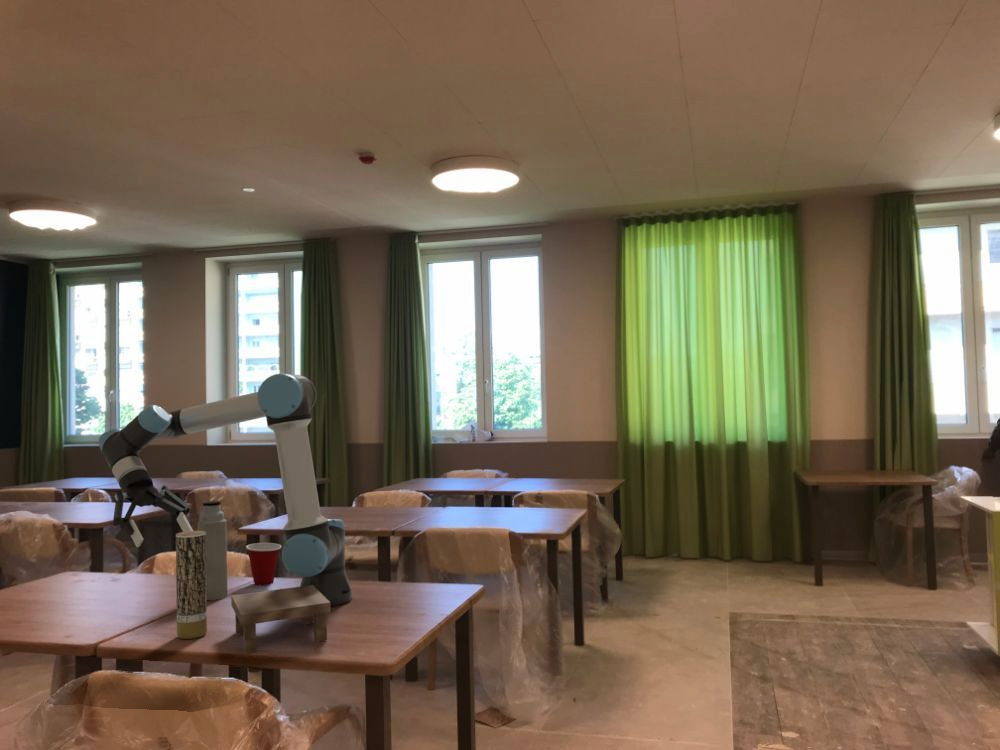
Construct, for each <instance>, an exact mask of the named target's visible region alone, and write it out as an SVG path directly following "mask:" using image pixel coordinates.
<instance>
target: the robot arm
mask: <svg viewBox="0 0 1000 750" xmlns="http://www.w3.org/2000/svg"><path fill="white" fill-rule="evenodd" d="M316 401H317V390H316V387H315V385H314V383H313V382H312V381H311V380H310V379H308V378H307V377H305V376H304V375H299V374H293V373H292V374H291V373H288V372H280V373H275V374H273V375H270V376H268V377H267V378H265V380H264V381H263V382H262V383H261V384H260V386H259V388H258V391H255V392H250V393H246V394H242V395H237V396H233V397H229V398H225V399H221V400H217V401H211V402H208V403H203V404H199V405H194V406H189V407H185V408H182V409H181V408H180V409H176V410H171V411H166V410H165V409H164V408H162V407H161V406H159V405H156V404H150V405H148V406H147V407H146V408H144V409H143V410H142V411H139V413H138V415H136V416H135V417H134V418H133V419H132V420H131V421H130V422H129V423H127V424H126V426H124V427H123V428H120V427H119V428H118V427H114V428H111V429H109V430H108V431H105V432H103V433H102V434H101V435H100V437H99V438H98V441H97V443H98V446H99V448H100V451H101V454H102V455H101V456H103V458H104V459H105V461H106V462H107V464H108V466H109V468H110V470H111V472H112V474H113V476H114V478H115V480H116V482H117V484H118V486H119V488H120V490H119V489H118V490H117V491H116V493H115V494H114V496H113V500H114V504H115V505H114V510H113V511H114V512H113V519H112V525H113V526H114V527H115V526H116V527H117V526H119V528H120V529H122V530H124V531H125V533H126V535H127V536H130V537H131V539H132V541H133V542H134V545H135V547H136V548H139V547H141V545H142V543H143V542H144V537H143V535H142V533H141V532H140V530H139V527H138V526H137V524H136V522H135V521H134V519H131V517H132V515H133V513H134V511H135V509H136V507H140V508H142V507H149V506H153V507H155V508H160V509H161V510H164V511H166V512H168V513H170V514H171V515H173V516H175V517H176V522H177V523H178V525H179V527H180V529H181V530H182V531H181V532H186V531H194V530H193V527H192V526H191V519H190V518H189V516H188V514H189V512H190V511H191V509H192V508H191V506H190V505H188V504H187V503H186V502H185V501H183V499H181V498H180V497H178V496H177V495H176V494H175V493H173V492H172V491H171V490H170V489H169V487H168V486H167V485H162V487H160V488H156V487H155V486H154V482H153V480H152V477H151V475H150V473H149V472H148V471H147V470H148V469H147V468H146V466H145V465H144V462H143V461H142V459H141V458H140V455H139V453H140V452H141V451H142V450H144V449H145V448H146V447H147V446H148V445H149V444H150V443H152V441H158V440H165V439H167V440H168V439H169V440H171V439H172V440H173V439H178V438H180V437H183V436H186V435H190V434H191V435H192V434H197V433H199V432H204V431H207V430H213V429H218V428H222V427H227V426H230V425H235V424H240V423H243V422H248V421H252V420H257V419H261V418H265V419H266V425H267V426H266V427H267V428H268V429H270V430H271V431H272V432H273V433H274V437H275V444H276V445H275V446H276V450H277V457H278V458H277V459H278V464H279V471H280V477H281V478H280V479H281V484H282V489H283V494H284V495H283V496H284V502H285V508H286V509H285V510H286V515H287V516H286V517H287V522H286V524H285V525H284V527H283V535H284V541H285V542H284V544H283V547H282V551H281V559H282V562H283V565H284V567H285V568H286V570H287V572H289V573H291V574H292V575H294V576H296V577H300V578H302V579H301V582H300V586H299V587H301V586H309V585H313V586H314V587H315V588H316V589H317V590H318V591H319V592H320V593H321V594H322V595H323V596H324V597H325V598H326V599H327V600H328V601H329V602H330V607H335V606H339V604H340V605H344V604H347V603H349V602H350V601H352V599H353V590H352V587H351V584H350V582H349V578H348V575H347V573H346V547H345V546H346V540H345V539H346V538H345V536H346V535H345V532H346V529H345V523H344V520H342V519H340V518H333V519H331V518H330V519H328V518H326V517H325V516H323V515H322V513H321V506H320V501H319V494H318V489H317V482H316V476H315V470H314V469H315V468H314V463H313V455H312V450H311V444H310V436H309V432H308V426H309V425H310V423H311V421H313V418H312V412H311V410H312V409H313V408H314V406H315V404H316ZM125 500H127V501H129V502H130V506H129V507H128V509H127V511H126V514H125V516H124V517H122V516H123V507H124V501H125ZM334 605H335V606H334Z"/></svg>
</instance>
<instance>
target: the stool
mask: <svg viewBox="0 0 1000 750" xmlns="http://www.w3.org/2000/svg"><path fill="white" fill-rule="evenodd" d="M230 598H231V599H230V600H231V602H230V603H231V608H232V609H233V611H234V614H235V615H234V616H235V619H234V620H235V635H236V636H239V635H238V634H241V635H243V653H244V655H247V654H253V652H254V653H257V629H256V626H257V624H261V623H262V624H263V623H270V622H276V621H277V622H278V621H282V620H283V621H284V620H291V619H297V618H300V619H301V620H300V621H301V622H302V623H301V622H300V623H301V624H302V626H306V625H305V624H307V625H311V624H310V623H313V627H314V628H313V630H314V634H313V635H314V638H313V639H314V641H315V642H316V643H321V642H320V641H322V642H326V641H325V640H327V641H328V638H327V637H328V636H327V635H328V631H327V630H328V629H327V614H330V613H331V606H330V602H329V601H328V600H327V599H326V598H325V597H324V596H323V595H322V594H321V593H320V592H319V591H318V590H317V589H316V588H315V587H314V586H313V585H309V586H301V587H300V586H295V587H293V586H292V587H286V588H285V587H284V588H278V589H271V590H263V591H256V592H248V593H247V592H246V593H242V594H232V595H231V597H230Z"/></svg>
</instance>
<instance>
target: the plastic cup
mask: <svg viewBox="0 0 1000 750" xmlns="http://www.w3.org/2000/svg"><path fill="white" fill-rule="evenodd" d="M245 548H246V550H247V554H248V558H249V564H250V570H251V575H252V579H253V585H255V586H267V584H268V585H271V583H272V584H273V583H274V581H275V575H276V574H275V573H276V570H277V563H278V557H279V553H280V551H281V549H282V548H283V547H282V545H281V544H278V543H274V542H257V543H250V544H248V545H245Z"/></svg>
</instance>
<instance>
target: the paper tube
mask: <svg viewBox="0 0 1000 750" xmlns="http://www.w3.org/2000/svg"><path fill="white" fill-rule="evenodd" d="M175 568H176V569H175V572H176V573H175V575H176V576H175V577H176V579H175V581H176V582H175V583H176V584H175V585H176V635H177V638H179V639H180V640H192V639H193V640H194V639H198V638H201V637H204V636H205V635H206V634H207V632H208V622H207V621H208V604H207V603H208V602H207V593H206V533H205V531H198V530H193V531H186V532H183V531H181V532H177V533H175Z"/></svg>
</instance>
